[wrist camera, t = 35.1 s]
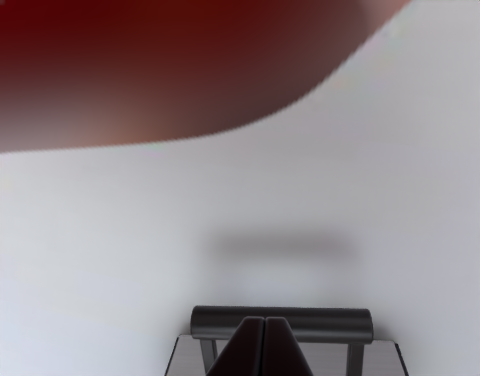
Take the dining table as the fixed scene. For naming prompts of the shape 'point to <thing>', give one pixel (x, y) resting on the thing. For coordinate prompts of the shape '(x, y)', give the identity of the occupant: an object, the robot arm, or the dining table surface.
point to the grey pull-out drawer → (306, 333)
